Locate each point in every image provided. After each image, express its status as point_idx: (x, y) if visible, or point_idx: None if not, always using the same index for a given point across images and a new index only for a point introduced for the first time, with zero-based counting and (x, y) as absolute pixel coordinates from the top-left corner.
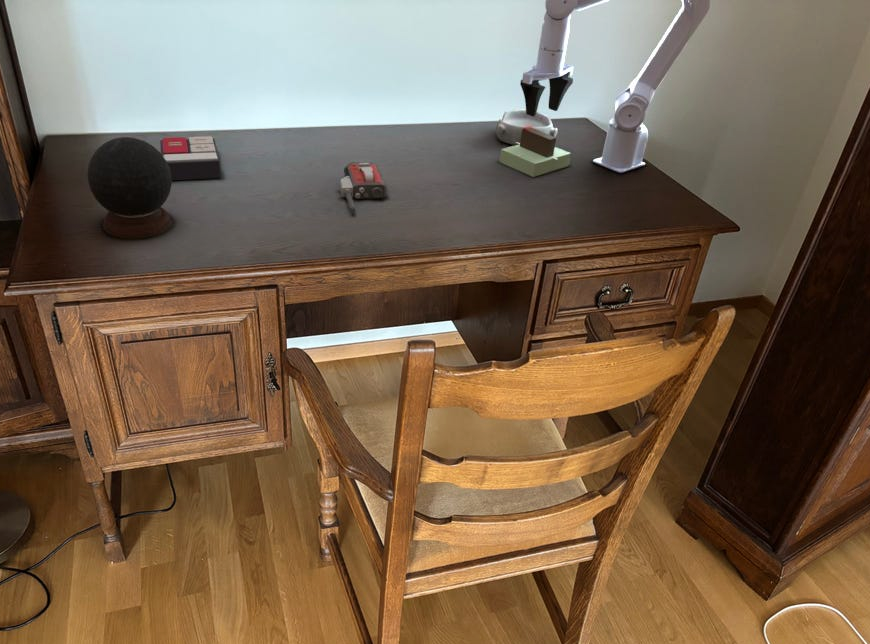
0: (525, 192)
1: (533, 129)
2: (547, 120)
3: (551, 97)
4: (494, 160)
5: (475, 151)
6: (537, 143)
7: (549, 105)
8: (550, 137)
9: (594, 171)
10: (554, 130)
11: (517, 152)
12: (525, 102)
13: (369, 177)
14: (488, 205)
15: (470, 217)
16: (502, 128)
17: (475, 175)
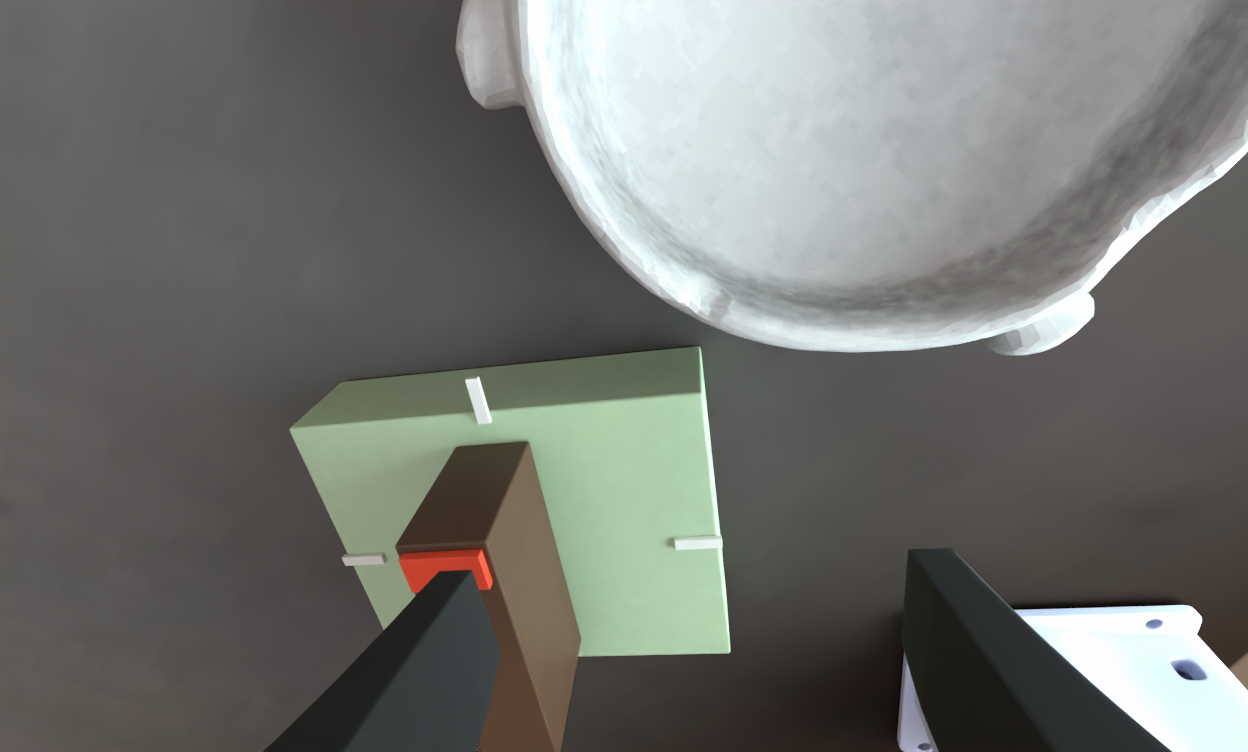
0: (307, 673)
1: (488, 598)
2: (1196, 138)
3: (990, 715)
4: (323, 342)
5: (246, 135)
6: None
7: (923, 591)
8: (514, 743)
9: (802, 673)
10: (1010, 346)
11: (379, 515)
12: (328, 692)
13: None
14: (105, 680)
15: (13, 707)
16: (478, 100)
17: (125, 463)
